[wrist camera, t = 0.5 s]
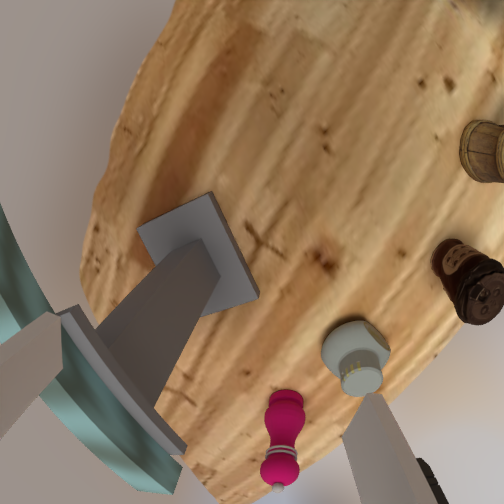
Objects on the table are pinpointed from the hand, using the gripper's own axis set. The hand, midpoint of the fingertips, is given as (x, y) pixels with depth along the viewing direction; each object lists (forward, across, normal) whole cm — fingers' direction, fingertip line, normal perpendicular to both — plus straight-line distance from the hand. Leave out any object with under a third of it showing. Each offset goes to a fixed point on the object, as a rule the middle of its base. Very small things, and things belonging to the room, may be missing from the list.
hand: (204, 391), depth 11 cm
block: (+6, -10, -6) cm, 13 cm away
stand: (+34, -5, -4) cm, 34 cm away
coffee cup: (+29, +30, +6) cm, 42 cm away
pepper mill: (+36, +15, -28) cm, 48 cm away
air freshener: (+33, +21, -11) cm, 41 cm away
